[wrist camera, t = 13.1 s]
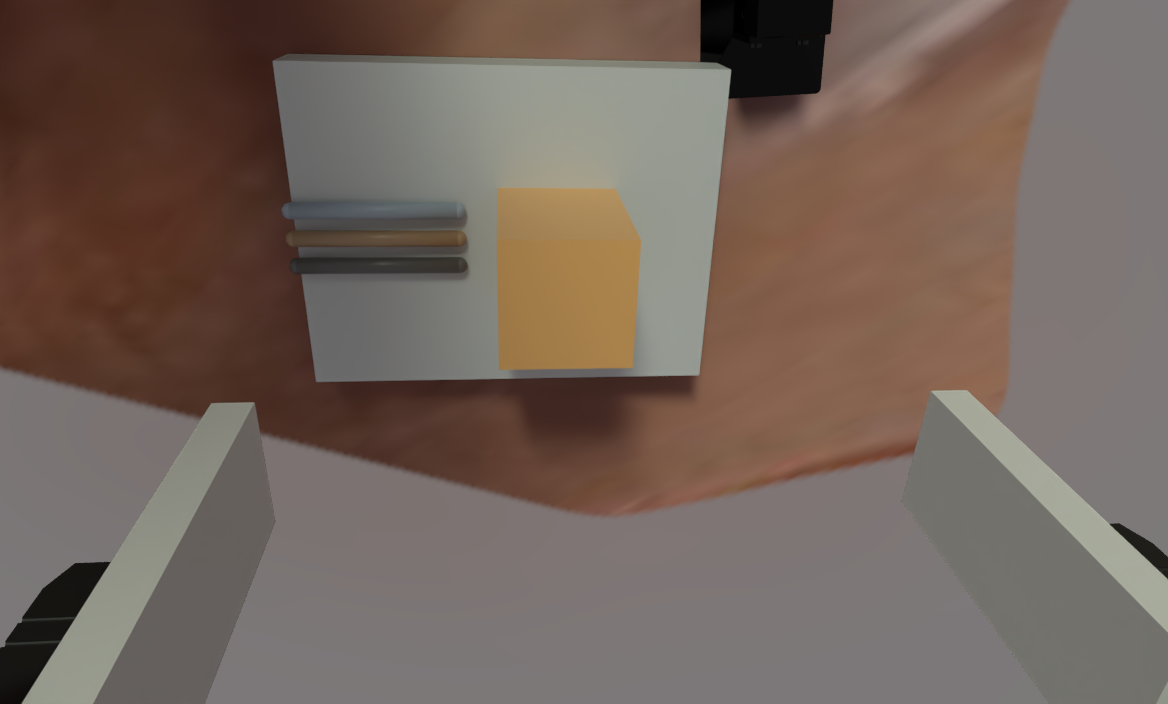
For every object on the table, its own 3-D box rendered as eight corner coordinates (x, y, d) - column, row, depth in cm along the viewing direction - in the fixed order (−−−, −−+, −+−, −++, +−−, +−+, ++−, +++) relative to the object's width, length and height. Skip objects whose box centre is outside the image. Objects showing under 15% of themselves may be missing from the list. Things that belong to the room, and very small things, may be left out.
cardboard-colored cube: (499, 297, 36) (499, 369, 29) (497, 187, 33) (496, 240, 27) (610, 297, 36) (632, 367, 30) (615, 188, 34) (641, 240, 28)
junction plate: (319, 357, 39) (275, 454, 31) (279, 53, 33) (211, 81, 25) (688, 352, 40) (731, 442, 33) (716, 62, 34) (777, 91, 27)
